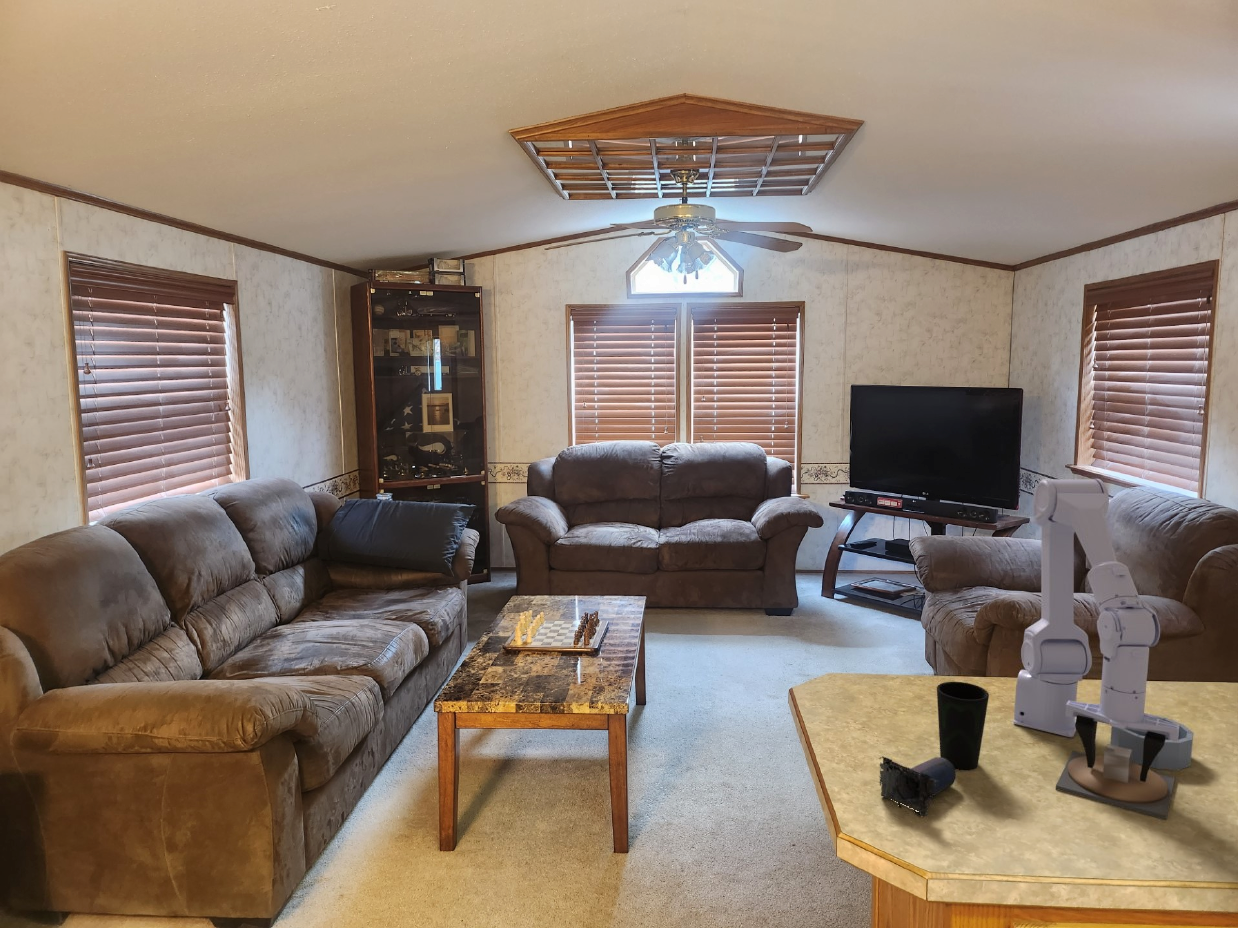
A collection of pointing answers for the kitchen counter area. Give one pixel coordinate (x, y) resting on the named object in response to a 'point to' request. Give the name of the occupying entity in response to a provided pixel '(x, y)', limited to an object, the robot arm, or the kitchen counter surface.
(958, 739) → the cup
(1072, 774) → the lid
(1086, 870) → the kitchen counter surface
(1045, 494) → the robot arm
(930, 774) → the dark blue flanged cylinder
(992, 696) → the kitchen counter surface
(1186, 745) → the bowl
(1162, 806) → the mat
